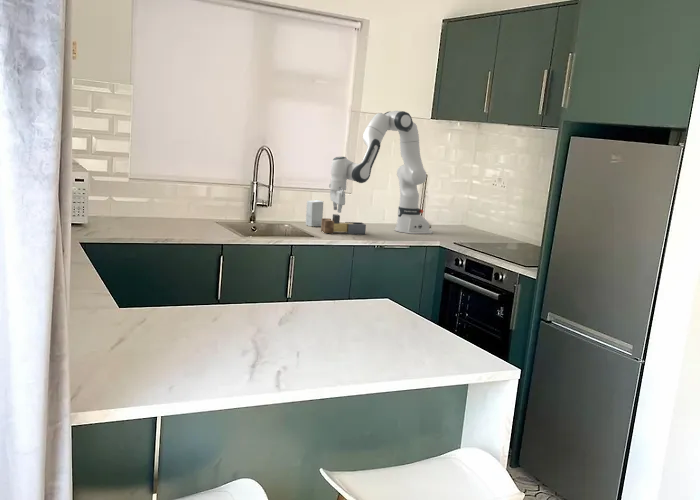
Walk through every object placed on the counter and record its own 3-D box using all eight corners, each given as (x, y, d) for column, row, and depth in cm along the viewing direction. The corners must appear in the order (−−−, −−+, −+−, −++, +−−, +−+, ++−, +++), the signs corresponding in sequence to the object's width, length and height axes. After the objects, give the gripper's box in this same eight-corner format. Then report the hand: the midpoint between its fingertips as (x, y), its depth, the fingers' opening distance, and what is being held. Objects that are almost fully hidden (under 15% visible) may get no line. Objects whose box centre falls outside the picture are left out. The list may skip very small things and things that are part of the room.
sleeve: (361, 232, 404) (362, 222, 403) (365, 234, 396) (366, 224, 395) (344, 231, 401) (345, 221, 400) (348, 234, 393) (348, 224, 392)
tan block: (351, 230, 400) (352, 214, 398) (353, 232, 396) (354, 216, 394) (327, 230, 396) (328, 214, 395) (329, 231, 392) (330, 215, 391)
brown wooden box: (329, 231, 399) (330, 218, 398) (333, 234, 391) (334, 221, 389) (320, 230, 398) (321, 218, 397) (324, 233, 389) (325, 220, 388)
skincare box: (316, 224, 419) (318, 199, 417) (322, 226, 415) (324, 201, 412) (304, 225, 414) (306, 200, 411) (311, 227, 410) (312, 201, 407)
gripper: (348, 188, 382) (347, 214, 384) (339, 184, 401) (338, 208, 404) (337, 188, 380) (336, 214, 383) (328, 184, 399) (327, 208, 402)
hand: (337, 211), depth 393 cm, fingers open, 8 cm apart
